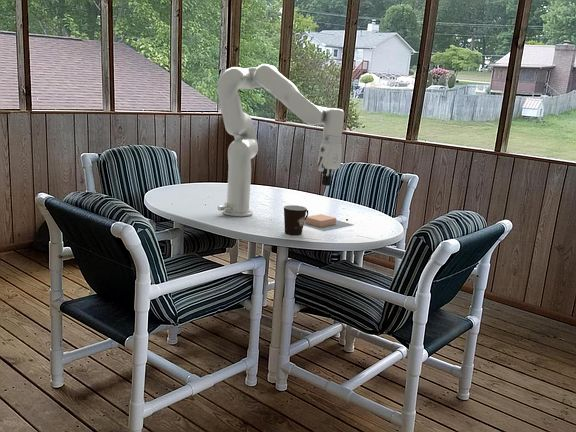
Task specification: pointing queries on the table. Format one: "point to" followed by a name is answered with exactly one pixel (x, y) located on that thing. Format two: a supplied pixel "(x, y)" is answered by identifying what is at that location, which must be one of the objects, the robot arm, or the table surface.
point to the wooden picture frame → (320, 220)
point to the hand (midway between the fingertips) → (326, 185)
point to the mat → (329, 226)
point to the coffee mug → (294, 219)
